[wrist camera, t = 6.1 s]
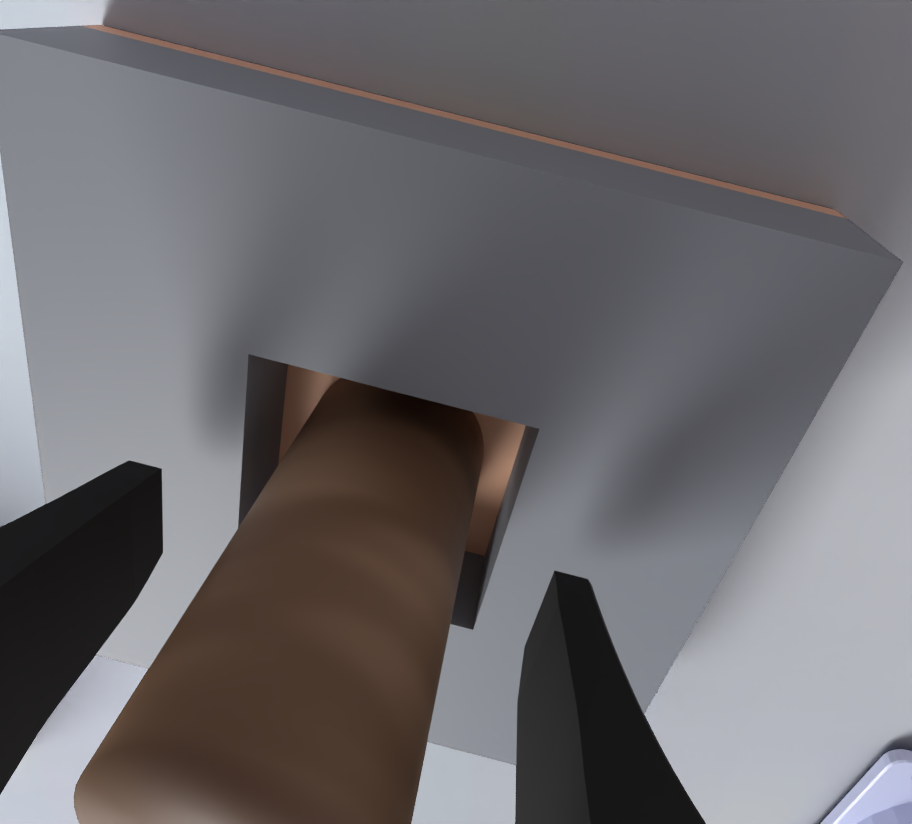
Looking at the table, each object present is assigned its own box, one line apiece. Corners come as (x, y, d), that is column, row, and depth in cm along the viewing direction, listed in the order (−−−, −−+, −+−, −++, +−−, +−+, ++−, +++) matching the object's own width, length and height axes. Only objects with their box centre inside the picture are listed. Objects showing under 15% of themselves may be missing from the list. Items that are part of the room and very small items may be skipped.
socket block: (836, 210, 13) (902, 262, 10) (597, 687, 20) (601, 787, 18) (100, 25, 13) (-17, 30, 10) (128, 565, 20) (64, 646, 18)
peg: (501, 390, 15) (427, 801, 7) (464, 529, 17) (374, 963, 9) (321, 345, 15) (58, 705, 7) (305, 489, 17) (87, 886, 9)
